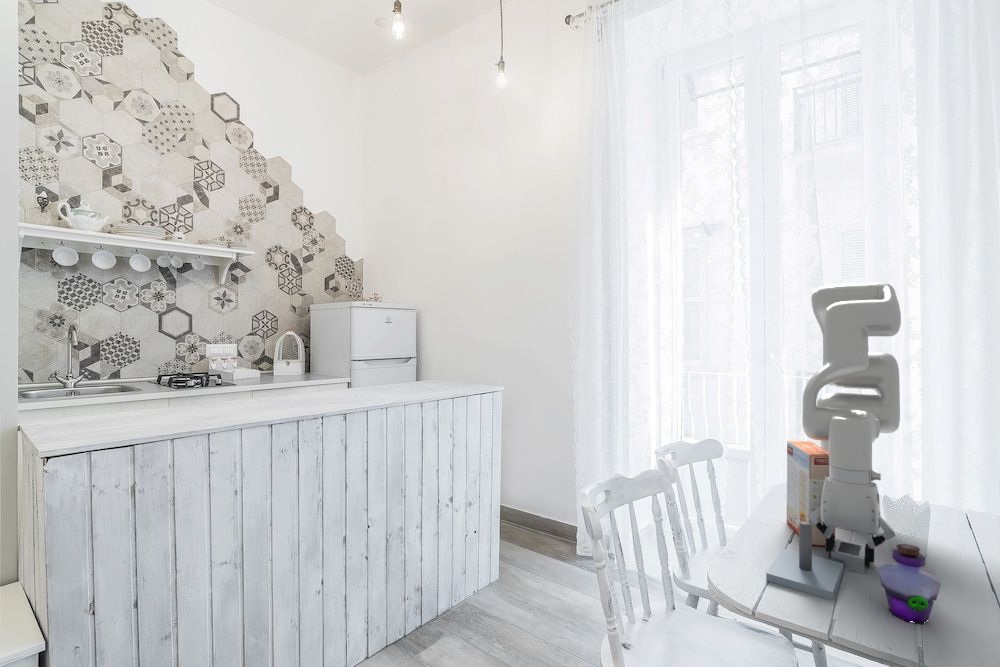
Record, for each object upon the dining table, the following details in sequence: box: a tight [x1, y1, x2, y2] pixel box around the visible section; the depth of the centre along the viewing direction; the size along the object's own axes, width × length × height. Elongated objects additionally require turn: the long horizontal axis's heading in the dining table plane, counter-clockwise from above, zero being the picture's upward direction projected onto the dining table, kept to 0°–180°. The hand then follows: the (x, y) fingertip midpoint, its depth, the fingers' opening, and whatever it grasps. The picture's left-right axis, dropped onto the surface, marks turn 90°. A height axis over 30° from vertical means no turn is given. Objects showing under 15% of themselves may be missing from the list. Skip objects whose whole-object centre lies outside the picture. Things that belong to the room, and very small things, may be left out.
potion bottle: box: [877, 543, 942, 625], centre depth 87 cm, size 9×9×12 cm
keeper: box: [765, 522, 844, 601], centre depth 101 cm, size 14×11×10 cm
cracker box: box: [786, 440, 836, 547], centre depth 120 cm, size 14×6×21 cm, turn 168°
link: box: [830, 538, 867, 575], centre depth 106 cm, size 8×6×3 cm
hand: (849, 559), depth 106 cm, fingers closed on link, 5 cm apart
